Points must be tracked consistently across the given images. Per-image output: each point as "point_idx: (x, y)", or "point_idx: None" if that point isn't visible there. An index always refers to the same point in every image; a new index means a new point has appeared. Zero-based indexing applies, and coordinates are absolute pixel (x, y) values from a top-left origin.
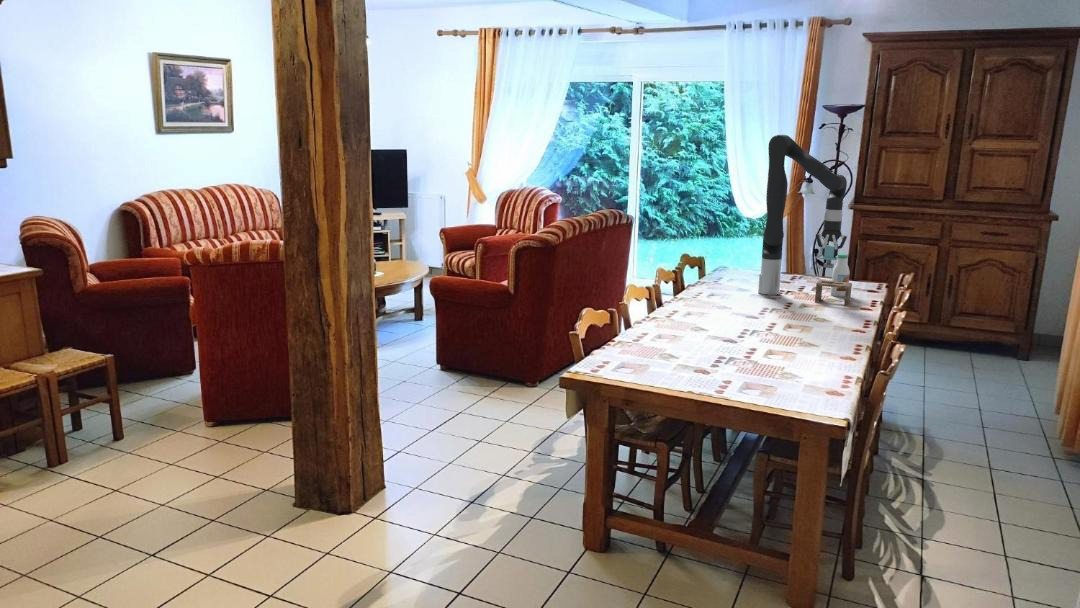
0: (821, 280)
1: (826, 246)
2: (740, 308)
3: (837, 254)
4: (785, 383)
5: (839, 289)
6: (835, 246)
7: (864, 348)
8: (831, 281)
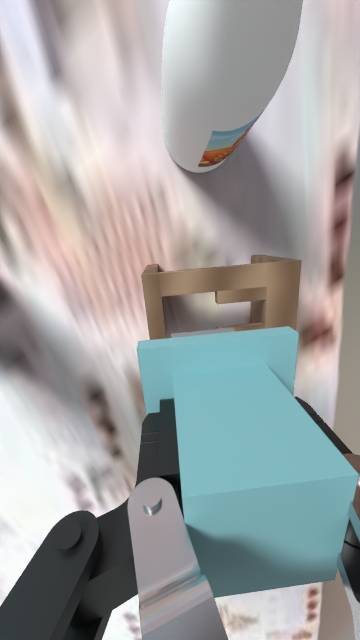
0: (151, 286)
1: (214, 594)
2: (24, 513)
3: (311, 416)
4: None
5: (212, 164)
6: (356, 570)
7: (321, 597)
8: (202, 282)
